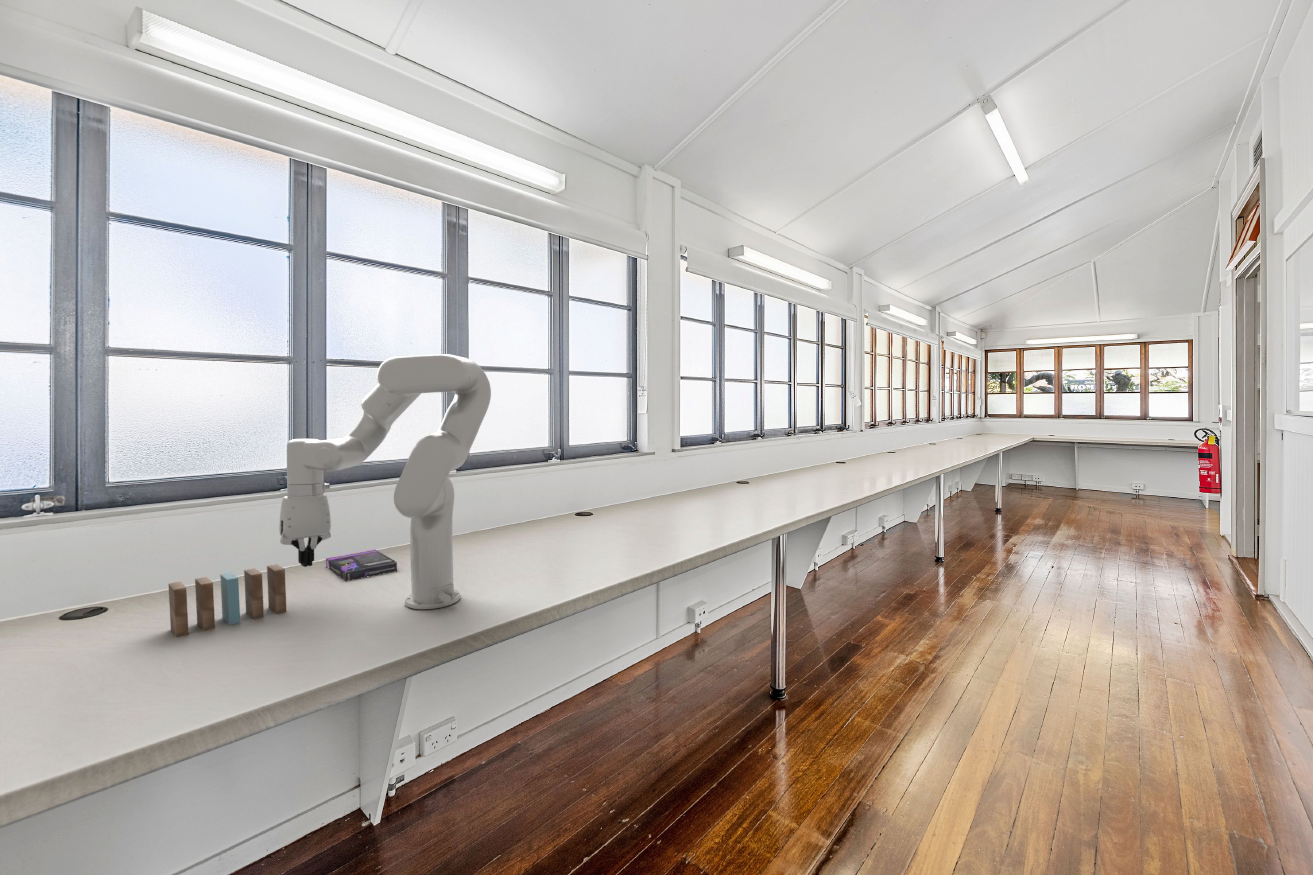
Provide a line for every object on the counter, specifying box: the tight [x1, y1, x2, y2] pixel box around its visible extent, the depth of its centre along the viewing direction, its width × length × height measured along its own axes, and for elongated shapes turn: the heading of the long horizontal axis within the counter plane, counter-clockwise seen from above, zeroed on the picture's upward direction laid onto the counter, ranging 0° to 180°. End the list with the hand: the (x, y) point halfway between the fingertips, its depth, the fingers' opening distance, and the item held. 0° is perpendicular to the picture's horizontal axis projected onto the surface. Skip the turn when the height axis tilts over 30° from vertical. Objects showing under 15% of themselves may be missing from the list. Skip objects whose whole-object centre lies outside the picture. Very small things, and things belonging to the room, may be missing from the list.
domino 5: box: [266, 563, 287, 615], centre depth 137 cm, size 2×6×10 cm, turn 48°
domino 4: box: [243, 567, 265, 620], centre depth 133 cm, size 2×6×10 cm, turn 48°
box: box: [325, 549, 398, 582], centre depth 170 cm, size 14×4×20 cm
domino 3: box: [219, 572, 241, 626], centre depth 130 cm, size 2×6×10 cm, turn 48°
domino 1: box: [168, 581, 189, 638], centre depth 123 cm, size 2×6×10 cm, turn 48°
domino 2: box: [194, 576, 216, 632], centre depth 126 cm, size 2×6×10 cm, turn 48°
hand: (306, 565), depth 141 cm, fingers closed
